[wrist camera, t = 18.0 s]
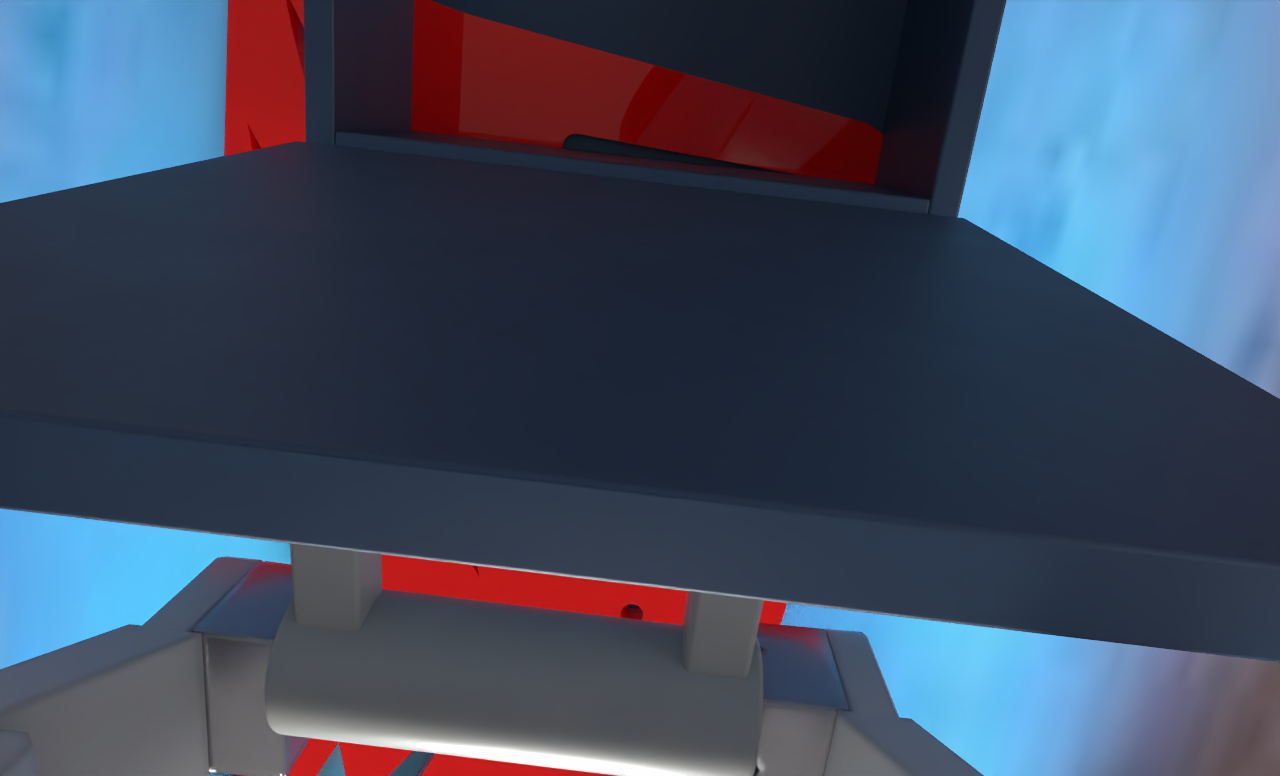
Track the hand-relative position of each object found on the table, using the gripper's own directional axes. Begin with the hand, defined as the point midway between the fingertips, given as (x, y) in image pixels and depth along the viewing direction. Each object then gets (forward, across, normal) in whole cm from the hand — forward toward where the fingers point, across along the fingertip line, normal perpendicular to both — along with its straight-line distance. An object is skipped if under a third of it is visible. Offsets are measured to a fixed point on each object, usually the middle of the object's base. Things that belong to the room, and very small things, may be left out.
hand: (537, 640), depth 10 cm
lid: (+3, 0, -5) cm, 6 cm away
